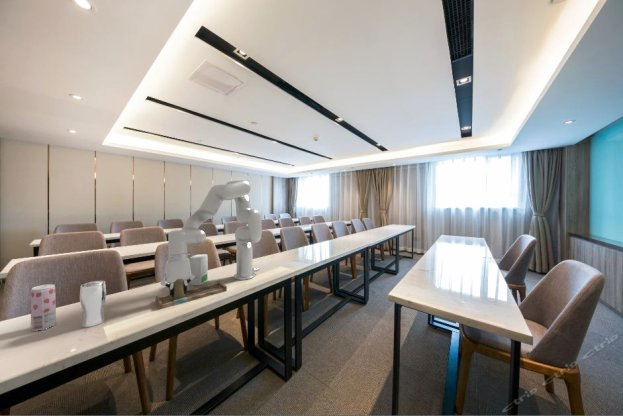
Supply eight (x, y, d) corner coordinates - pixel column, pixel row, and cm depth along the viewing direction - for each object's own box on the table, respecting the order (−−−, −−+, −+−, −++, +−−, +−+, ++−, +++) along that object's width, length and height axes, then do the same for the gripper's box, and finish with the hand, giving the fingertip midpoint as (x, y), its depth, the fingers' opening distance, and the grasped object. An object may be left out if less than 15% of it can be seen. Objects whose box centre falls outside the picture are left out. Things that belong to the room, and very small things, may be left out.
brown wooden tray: (218, 285, 120) (219, 281, 120) (226, 291, 112) (226, 286, 112) (155, 301, 100) (155, 296, 100) (159, 309, 92) (159, 303, 92)
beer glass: (83, 330, 77) (82, 288, 76) (77, 324, 80) (77, 284, 80) (109, 321, 83) (108, 282, 82) (102, 316, 86) (102, 279, 86)
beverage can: (53, 321, 82) (53, 282, 82) (57, 325, 79) (57, 285, 79) (29, 328, 77) (28, 287, 77) (32, 333, 74) (32, 291, 74)
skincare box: (200, 285, 119) (200, 257, 119) (188, 285, 119) (188, 257, 119) (208, 280, 128) (208, 254, 127) (197, 279, 128) (197, 253, 127)
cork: (169, 299, 102) (168, 276, 101) (183, 295, 106) (183, 273, 106) (172, 303, 97) (172, 279, 97) (187, 299, 102) (187, 276, 102)
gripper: (195, 252, 110) (195, 288, 110) (155, 258, 98) (155, 297, 99) (199, 255, 104) (199, 292, 105) (157, 261, 93) (158, 303, 93)
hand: (178, 294), depth 102 cm, fingers closed on cork, 4 cm apart
